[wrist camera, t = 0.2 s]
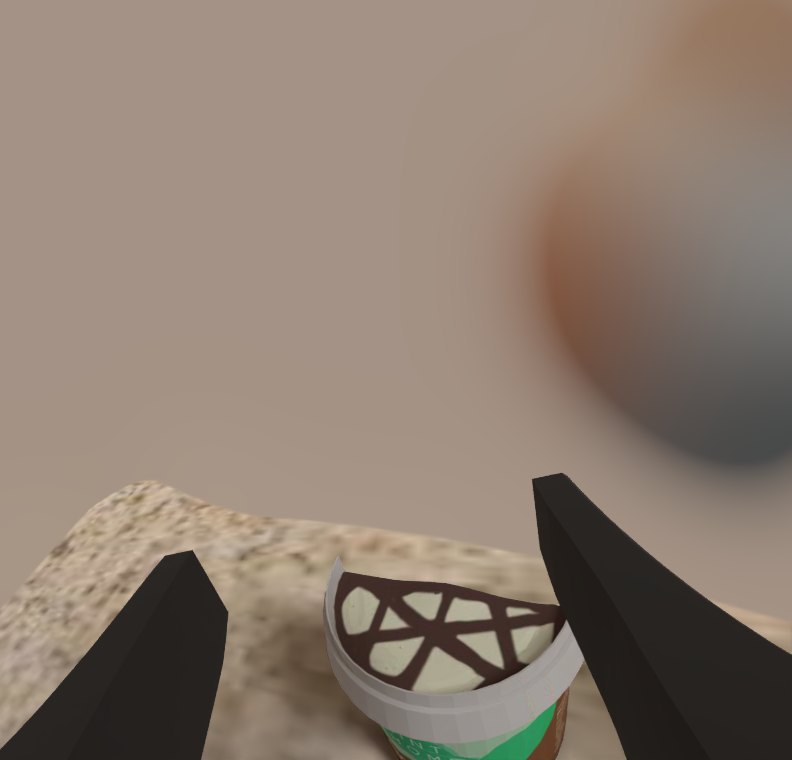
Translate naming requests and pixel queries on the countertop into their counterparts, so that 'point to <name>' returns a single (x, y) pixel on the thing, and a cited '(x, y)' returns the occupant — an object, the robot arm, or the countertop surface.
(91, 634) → the countertop surface
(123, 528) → the countertop surface
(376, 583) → the food container
